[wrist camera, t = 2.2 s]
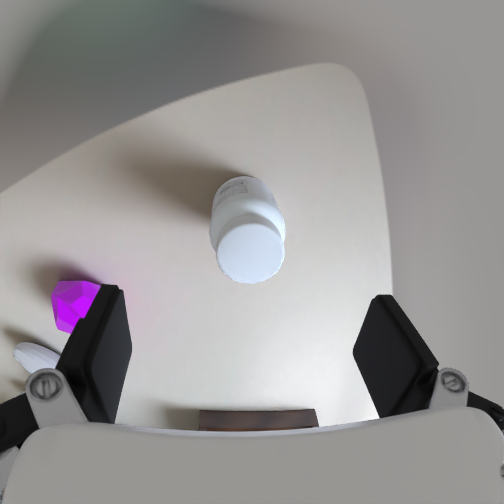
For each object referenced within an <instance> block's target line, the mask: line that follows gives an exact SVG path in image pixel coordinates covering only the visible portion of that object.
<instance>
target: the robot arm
mask: <svg viewBox="0 0 504 504" xmlns="http://www.w3.org/2000/svg"><path fill="white" fill-rule="evenodd" d="M131 353H132V342H131V337H130V331H129V325H128V319H127V313H126V306H125V300H124V293H123V290H121V289H119V288H118V286H117V285H109V284H102V285H101V287H100V289H99V290H98V292H97V294H96V296H95V298H94V300H93V302H92V304H91V306H90V308H89V310H88V312H87V314H86V316H85V318H82V317H81V318H79V320H78V321H77V323H76V325H75V327H74V329H73V331H72V333H71V335H70V337H69V339H68V341H67V343H66V345H65V347H64V349H63V352H62V354H61V356H60V358H59V360H58V362H57V365H56V367H55V369H53V368H43V369H39V370H37V371H35V372H33V373H32V374H31V375H30V376H29V378H28V379H27V381H26V385H25V390H26V392H25V393H23V394H21V395H19V396H17V397H15V398H13V399H11V400H8V401H6V402H4V403H2V404H0V504H504V409H502V407H501V406H499V405H498V404H496V403H493V402H491V401H489V400H487V399H485V398H483V397H480V396H478V395H476V394H474V393H472V392H470V391H469V383H468V381H467V379H466V377H465V376H464V375H463V374H462V373H461V372H459V371H457V370H456V369H453V368H444V369H441V370H440V371H439V370H438V369H437V367H438V365H439V363H438V361H437V360H436V358H435V357H434V355H433V354H432V352H431V351H430V349H429V348H428V346H427V345H426V343H425V342H424V340H423V339H422V337H421V336H420V334H419V333H418V331H417V330H416V329H415V327H414V326H413V324H412V323H411V321H410V320H409V319H408V317H407V316H406V314H405V313H404V311H403V310H402V309H401V307H400V306H399V305H398V303H397V302H396V300H395V299H394V298H393V296H392V295H377V296H376V297H375V298H374V299H372V301H371V303H370V306H369V309H368V311H367V314H366V317H365V319H364V322H363V325H362V327H361V330H360V333H359V335H358V338H357V340H356V343H355V345H354V348H353V356H354V359H355V361H356V363H357V366H358V368H359V370H360V373H361V375H362V377H363V379H364V382H365V384H366V386H367V389H368V391H369V393H370V396H371V398H372V400H373V403H374V405H375V408H376V410H377V412H378V415H379V417H380V419H374V420H368V421H362V422H356V423H349V424H341V425H333V426H325V427H315V428H305V429H292V430H276V431H247V432H216V431H189V430H173V429H159V428H147V427H137V426H128V425H118V424H114V422H115V418H116V414H117V409H118V405H119V401H120V397H121V392H122V388H123V384H124V380H125V376H126V372H127V368H128V365H129V361H130V357H131ZM5 487H6V488H5ZM4 488H5V492H4V496H3V498H2V494H3V490H4Z"/></svg>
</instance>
